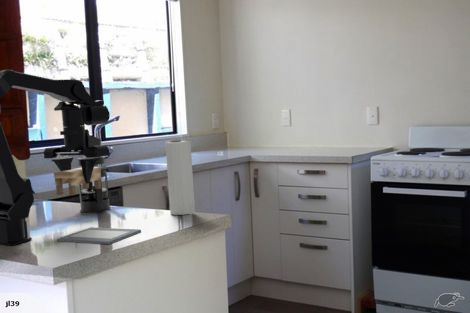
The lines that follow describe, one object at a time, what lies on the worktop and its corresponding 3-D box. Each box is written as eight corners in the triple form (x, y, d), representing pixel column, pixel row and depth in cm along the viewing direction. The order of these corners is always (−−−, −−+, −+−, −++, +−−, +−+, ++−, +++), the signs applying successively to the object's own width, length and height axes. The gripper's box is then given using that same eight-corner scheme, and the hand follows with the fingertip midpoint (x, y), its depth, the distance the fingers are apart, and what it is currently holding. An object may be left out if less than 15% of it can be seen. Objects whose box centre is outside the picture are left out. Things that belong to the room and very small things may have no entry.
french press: (76, 209, 191) (70, 139, 189) (104, 205, 196) (99, 136, 193) (86, 214, 181) (79, 140, 179) (115, 210, 185) (109, 137, 183)
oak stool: (72, 195, 155) (70, 172, 155) (55, 194, 158) (53, 172, 157) (102, 188, 166) (100, 166, 165) (85, 187, 168) (83, 167, 168)
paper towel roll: (167, 213, 174) (162, 141, 172) (187, 210, 176) (182, 139, 175) (175, 217, 168) (170, 142, 166) (195, 214, 170) (190, 140, 168)
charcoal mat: (109, 244, 138) (109, 241, 138) (57, 241, 145) (56, 238, 145) (141, 231, 150) (140, 229, 150) (91, 229, 157) (91, 227, 157)
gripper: (119, 123, 163) (124, 179, 164) (68, 126, 171) (72, 179, 173) (93, 126, 153) (98, 185, 155) (40, 128, 162) (45, 184, 163)
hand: (78, 183), depth 161 cm, fingers closed on oak stool, 6 cm apart
